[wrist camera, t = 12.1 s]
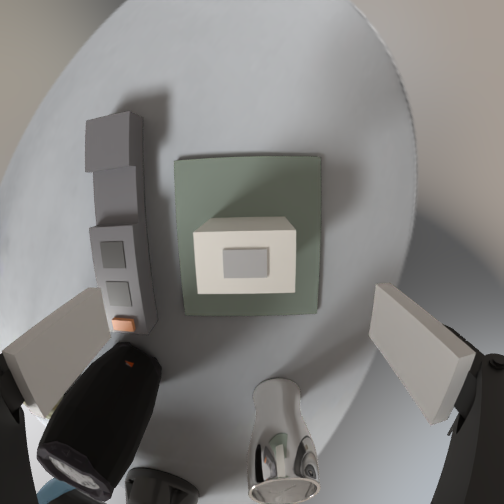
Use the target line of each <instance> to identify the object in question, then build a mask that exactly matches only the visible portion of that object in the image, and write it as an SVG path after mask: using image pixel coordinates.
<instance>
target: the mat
mask: <svg viewBox="0 0 504 504" xmlns="http://www.w3.org/2000/svg"><path fill="white" fill-rule="evenodd" d="M174 182H175V205H176V222H177V237H178V250H179V262H180V273H181V283H182V292H183V301H184V309H185V315H188V316H269V315H300V314H317V303H318V287H319V267H320V238H321V157H309V156H249V157H222V158H204V159H190V160H178V161H174ZM282 216H285V217H286V219H287V220H288V221H289V222H290V223H291V225H292V226H293V227H294V228H295V229H296V276H295V293H256V294H198V290H197V279H196V267H195V253H194V238H193V232H194V231H195V230H197V229H198V228H199V227H200V226H202V225H203V224H204V223H205V222H207V221H208V220H209V219H211V218H230V217H282Z"/></svg>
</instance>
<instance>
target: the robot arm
mask: <svg viewBox="0 0 504 504" xmlns="http://www.w3.org/2000/svg"><path fill="white" fill-rule="evenodd" d="M369 337H370V338H371V340H372V341H373V342H374V344H375V345H376V347H377V348H378V349H379V351H380V352H381V353H382V355H383V356H384V358H385V359H386V361H387V362H388V363H389V365H390V366H391V368H392V369H393V371H394V372H395V373H396V375H397V376H398V378H399V379H400V380H401V382H402V384H403V385H404V387H405V388H406V389H407V391H408V392H409V394H410V395H411V397H412V398H413V400H414V401H415V403H416V404H417V406H418V407H419V409H420V410H421V412H422V413H423V415H424V416H425V418H426V419H427V421H428V423H429V424H430V425H433V424H436V423H439V422H442V421H445V420H447V419H448V418H449V415H450V414H451V412H452V410H453V408H454V407H455V408H456V409H457V410H458V412H459V413H458V415H457V417H456V419H455V421H454V423H453V425H452V427H451V428H450V430H449V432H448V434H447V435H448V436H449V435H450V434H451V432H452V431H453V433H452V437H451V441H450V445H449V449H448V453H447V456H446V460H445V463H444V467H443V470H442V473H441V476H440V479H439V482H438V485H437V488H436V491H435V493H434V496H433V499H432V501H431V504H504V356H503V355H500V354H488V355H483V354H482V353H481V352H480V351H479V350H478V349H476V348H475V347H474V346H473V345H472V344H471V343H469V342H468V341H466V339H465V338H463V337H462V336H460V334H458V333H457V332H456V331H455V330H454V329H452V328H450V327H448V326H446V325H444V324H441V323H440V322H439V321H438V320H436V319H435V318H434V317H433V316H432V315H430V314H429V313H428V312H426V311H425V310H424V309H423V308H421V307H420V306H419V305H418V304H416V303H415V302H414V301H413V300H411V299H410V298H409V297H407V296H406V295H405V294H404V293H402V292H401V291H400V290H398V289H397V288H396V287H395V286H393V285H392V284H391V283H381V284H376V287H375V295H374V303H373V311H372V318H371V324H370V330H369ZM110 338H111V334H110V330H109V326H108V322H107V317H106V313H105V308H104V303H103V298H102V292H101V288H87V289H86V290H84V291H83V292H81V293H80V294H78V295H77V296H75V297H74V298H73V299H71V300H70V301H68V302H67V303H65V304H64V305H63V306H61V307H60V308H58V309H57V310H55V311H54V312H53V313H51V314H50V315H49V316H47V317H46V318H44V319H43V320H42V321H40V322H39V323H38V324H36V325H35V326H34V327H32V328H31V329H30V330H28V331H27V332H26V333H24V334H23V335H22V336H20V337H19V338H18V339H16V340H15V341H14V342H13V343H11V344H10V345H9V346H7V347H6V348H5V349H4V350H2V353H1V354H0V504H106V503H104V502H102V501H99V500H95V499H94V498H92V497H90V495H89V494H87V493H85V492H83V491H81V490H79V489H77V488H75V487H73V486H71V485H69V484H67V483H66V482H64V481H59V480H57V479H56V478H53V479H51V480H50V481H48V482H47V483H46V484H45V485H44V486H43V487H42V488H41V489H40V491H39V492H38V493H37V494H36V491H35V486H34V482H33V477H32V472H31V467H30V461H29V455H28V448H27V440H26V431H25V418H24V412H23V410H22V408H21V405H22V404H23V402H24V401H25V403H26V405H27V407H28V408H29V410H30V412H31V413H32V414H34V415H37V416H39V417H41V418H44V419H45V418H46V416H47V415H48V414H49V413H50V411H51V410H52V409H53V407H54V406H55V405H56V404H57V402H58V401H59V400H60V398H61V397H62V396H63V395H64V393H65V392H66V391H67V390H68V388H69V387H70V386H71V385H72V384H73V382H74V381H75V380H76V379H77V377H78V376H79V375H80V374H81V373H82V371H83V370H84V369H85V368H86V367H87V365H88V364H89V363H90V362H91V361H92V359H93V358H94V357H95V356H96V355H97V353H98V352H99V351H100V350H101V349H102V348H103V346H104V345H105V344H106V343H107V342H108V341H109V339H110ZM125 490H126V504H197V502H198V496H199V493H198V490H197V489H196V488H195V487H194V486H193V485H191V484H190V483H188V482H186V481H185V480H183V479H181V478H178V477H176V476H173V475H171V474H168V473H164V472H161V471H157V470H152V469H144V468H137V469H132V470H130V471H129V472H128V474H127V477H126V479H125Z"/></svg>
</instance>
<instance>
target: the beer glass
mask: <svg viewBox="0 0 504 504" xmlns="http://www.w3.org/2000/svg"><path fill="white" fill-rule="evenodd" d="M300 400H301V391H300V389H299V387H298V385H297V384H296V383H294V382H293V381H291V380H288V379H284V378H274V379H269V380H266V381H264V382H262V383H260V384H259V385H258V386H257V387H256V388H255V390H254V392H253V401H254V405H255V409H256V416H255V417H256V419H255V423H254V427H253V430H252V434H251V438H250V442H249V447H248V453H247V480H248V495H249V497H250V498H251V499H252V500H253V501H255V502H258V503H261V504H296V503H300V502H303V501H306V500H308V499H310V498H312V497H314V496H315V495H316V494H317V493H318V492H319V491H320V482H319V467H318V459H317V453H316V449H315V445H314V442H313V440H312V437H311V434H310V432H309V430H308V428H307V425H306V423H305V421H304V419H303V416H302V414H301V410H300Z"/></svg>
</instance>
